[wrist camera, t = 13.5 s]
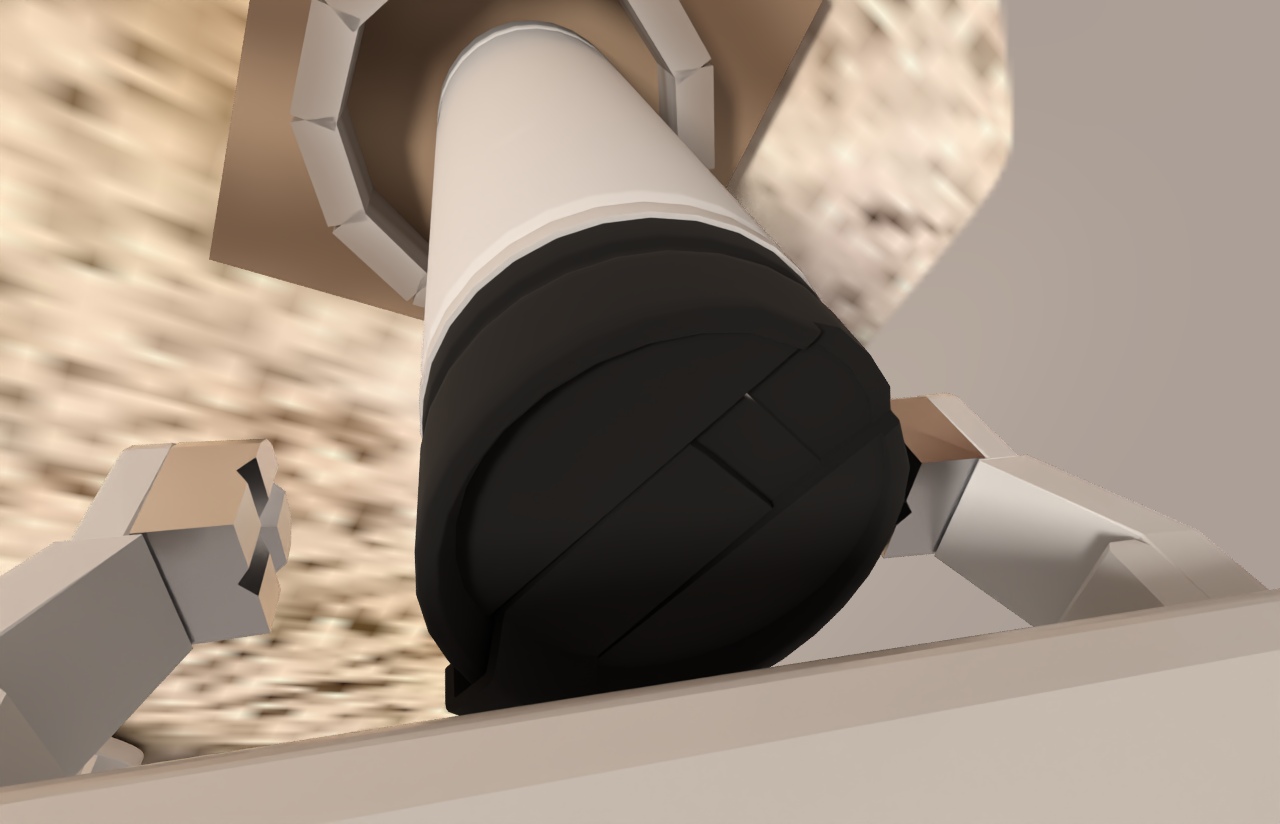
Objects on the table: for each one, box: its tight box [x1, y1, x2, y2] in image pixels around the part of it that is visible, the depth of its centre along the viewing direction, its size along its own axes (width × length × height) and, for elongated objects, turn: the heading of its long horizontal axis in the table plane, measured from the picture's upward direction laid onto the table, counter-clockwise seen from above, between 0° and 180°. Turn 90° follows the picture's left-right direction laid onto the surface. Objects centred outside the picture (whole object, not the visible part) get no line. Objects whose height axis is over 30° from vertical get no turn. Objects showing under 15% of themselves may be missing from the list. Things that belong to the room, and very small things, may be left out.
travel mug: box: [415, 20, 910, 716], centre depth 16 cm, size 6×7×20 cm
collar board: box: [209, 0, 823, 320], centre depth 23 cm, size 16×16×4 cm
